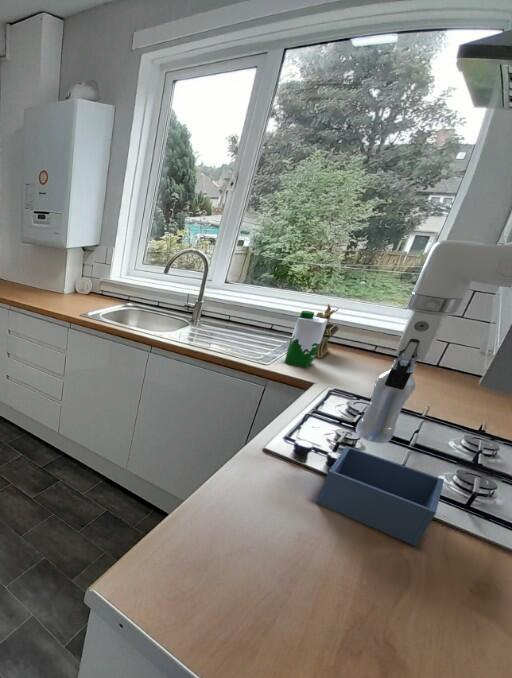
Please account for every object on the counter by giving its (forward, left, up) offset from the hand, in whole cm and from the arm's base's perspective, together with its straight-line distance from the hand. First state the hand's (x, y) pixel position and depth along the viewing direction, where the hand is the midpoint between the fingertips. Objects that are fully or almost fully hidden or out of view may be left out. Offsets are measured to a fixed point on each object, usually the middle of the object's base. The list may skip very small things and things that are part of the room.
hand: (396, 382), depth 91 cm
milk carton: (+31, -64, -21) cm, 74 cm away
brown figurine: (+31, -86, -21) cm, 94 cm away
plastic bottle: (0, 0, -15) cm, 15 cm away
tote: (-5, +20, -21) cm, 29 cm away
